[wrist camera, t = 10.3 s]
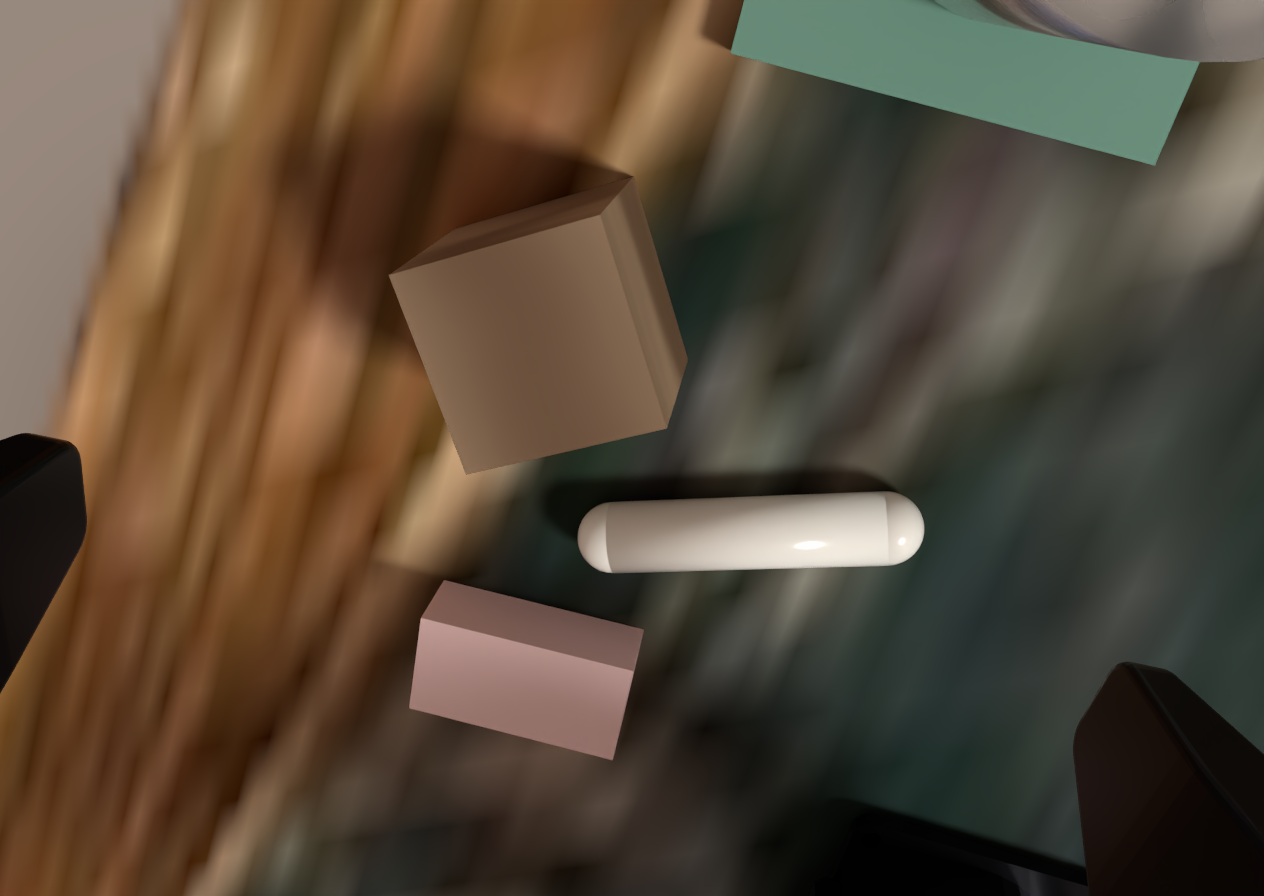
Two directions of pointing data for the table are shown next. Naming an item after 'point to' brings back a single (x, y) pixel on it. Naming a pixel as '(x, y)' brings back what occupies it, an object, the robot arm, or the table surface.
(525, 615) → the eraser
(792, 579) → the table surface
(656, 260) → the walnut block
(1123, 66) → the mat
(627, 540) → the chalk
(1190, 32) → the bottle
